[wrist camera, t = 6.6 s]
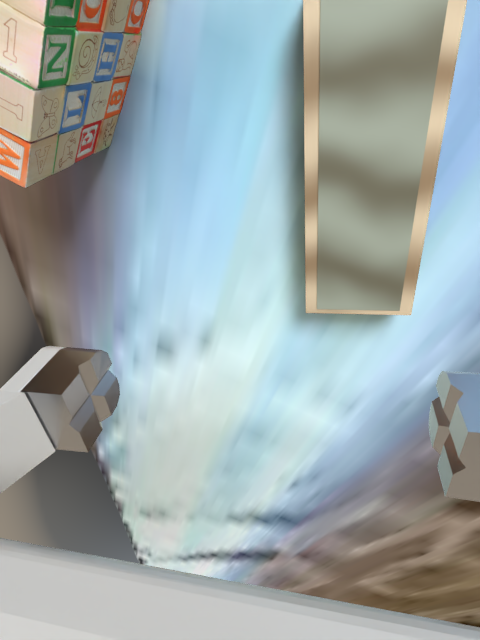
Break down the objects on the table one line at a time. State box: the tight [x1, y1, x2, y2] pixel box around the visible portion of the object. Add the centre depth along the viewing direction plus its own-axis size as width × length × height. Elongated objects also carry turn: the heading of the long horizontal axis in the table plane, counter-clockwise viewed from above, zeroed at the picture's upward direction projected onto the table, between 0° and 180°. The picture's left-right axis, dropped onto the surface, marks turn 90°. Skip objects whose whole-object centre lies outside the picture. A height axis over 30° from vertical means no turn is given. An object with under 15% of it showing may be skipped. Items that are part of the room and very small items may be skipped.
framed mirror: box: [303, 0, 467, 315], centre depth 29 cm, size 23×9×4 cm, turn 6°
